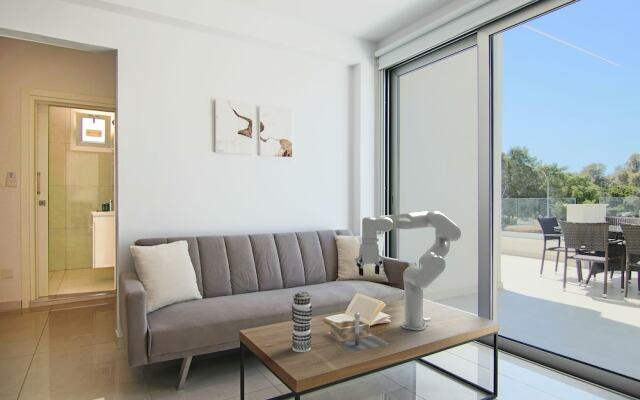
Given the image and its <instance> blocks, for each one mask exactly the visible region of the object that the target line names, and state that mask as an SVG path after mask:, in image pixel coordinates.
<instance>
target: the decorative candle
mask: <svg viewBox="0 0 640 400" xmlns="http://www.w3.org/2000/svg"><path fill="white" fill-rule="evenodd" d="M292 297H293V303H292V305H291V313H292V314H291V316H292V318H291V320H292V322H291V323H292V325H293V326H292V328H293V329H292V334H291V335H292V337H291V338H292V341H291V342H292V344H291V347H292V349H291V350H292V351H294V352H297V353H306V352H309V351H311V350H312V347H311V346H312V340H311V339H312V332H311V331H312V330H311V323H312V318H311V316H312V315H313V313H312V312H313V310H312V308H313V305H312V304H311V297H312V296H311V294H309V292H308V291H297V292H296V293H295V294H294V295H292Z"/></svg>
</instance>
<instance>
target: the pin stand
mask: <svg viewBox="0 0 640 400" xmlns="http://www.w3.org/2000/svg"><path fill="white" fill-rule="evenodd" d="M353 317H354V319H355V337H354V338H348V339H342V340H340V339H338V338H337V337H335V336H334V335H333V334H331V333H330V331H328V332H323V335H325V336H327V337H328V338H330V339H331V340H332V341H334V342H335V343H337V344H338V345H340V347H342V348H344V349H345V350H347V351H348V352H349V353H354V352H359V351H363V350H368V349H373V348H377V347H378V348H380V347H383V346H389V345H391V343H389V342H387V341H385V340H383V339H381V338H380V337H378V336H376V335H375V334H373V333H371V332H369V335H365V336H359V319H360V318H361V314H360V313H359V312H355V313H354V316H353Z"/></svg>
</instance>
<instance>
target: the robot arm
mask: <svg viewBox="0 0 640 400" xmlns="http://www.w3.org/2000/svg"><path fill="white" fill-rule="evenodd" d="M361 222H362V223H361V226H362V228H361V244H360V246H359V248H358V249H359V251H358V256H357V257H356V258H354V263H355V265H356V266H357V268H358V275H359V276H361V277H364V266H365V265H371V264H372V265H373V264H374V265H375V266H374V274H375V275H380V273H381V272H380V267H381V266H382V264H383V262H384V259H385V257H383V256H381V254H380V250H379V244H378V242H379V241H380V240H379V238H378V232H383V233H386V232H387V233H388V232H390V231H391V230H394V229H395V230H397V229H399V230H416V229H424V228H425V229H426V228H434V229H435V231H434V233H435V240H434V241H435V242H434V243H433V244H432V245H431V246H430V248H429V249H428V250H426V251H425V253H423V254H422V255H421V257H420V258H419V260H418V265H419V267H418V266H414V265H413V266H412V265H411V266H407V267H406V268H405V269H404V271H403V275H402V278H403V286H404V287H403V288H404V302H403V303H404V305H403V306H404V310H403V311H404V312H403V313H404V317H403V318H404V319H403V321H402V322H401V325H400V327H402V328H403V329H405V330H410V331H423V330H425V329H427V325H426V323H429V322H430V321H431V320H430V317H424V289H426V288H428V287H429V286H430V285H432V284H433V282H434V281H435V280H436V279H438V278H439V277H440V276H441V275H442V274H443V272H444V271H445V268H446V260H445V259H444V258H445V257H446V256H447V255H448V253H449V252H450V250H451V249H450V247H451V242H456V241H458V240H459V239H461V235H462V231H461V228H460V227H459V226H458V225H457V224H456V223H455V222H454V221H452V220H451V219H449V217H448V216H446V215H445V214H444V213H441V212H440V211H435V210H433V211H432V210H426V211H418V212H417V211H416V212H407V213H400V214H388V215H380V216H376V217H370V216H369V217H368V216H366V217H363V218H362V220H361Z"/></svg>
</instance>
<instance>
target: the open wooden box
mask: <svg viewBox="0 0 640 400" xmlns="http://www.w3.org/2000/svg"><path fill="white" fill-rule="evenodd" d="M329 332H330V333H331V334H333V335H334V336H335V337H337V338H338V339H340V340H342V339H348V338H354V337H355V318H354V319H353V318H352V319H347V320H342V321H334V322H330V331H329ZM369 333H370V324H369V323H367V322H366V321H363V320H362V319H360V318H359V336H365V335H369Z"/></svg>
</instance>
